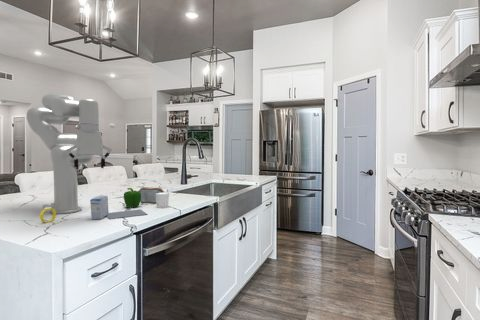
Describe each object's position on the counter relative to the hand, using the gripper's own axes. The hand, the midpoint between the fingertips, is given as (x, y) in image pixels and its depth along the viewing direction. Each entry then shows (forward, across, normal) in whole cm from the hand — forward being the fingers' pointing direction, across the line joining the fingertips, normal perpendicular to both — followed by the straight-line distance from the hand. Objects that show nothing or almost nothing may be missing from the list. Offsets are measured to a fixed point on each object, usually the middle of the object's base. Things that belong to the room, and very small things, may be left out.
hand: (90, 168), depth 125 cm
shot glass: (+22, +33, +7) cm, 40 cm away
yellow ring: (+22, -16, +1) cm, 27 cm away
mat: (+21, +14, -1) cm, 26 cm away
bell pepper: (+22, +20, +15) cm, 33 cm away
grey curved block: (+22, +31, +21) cm, 43 cm away
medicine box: (+21, +4, -2) cm, 22 cm away
